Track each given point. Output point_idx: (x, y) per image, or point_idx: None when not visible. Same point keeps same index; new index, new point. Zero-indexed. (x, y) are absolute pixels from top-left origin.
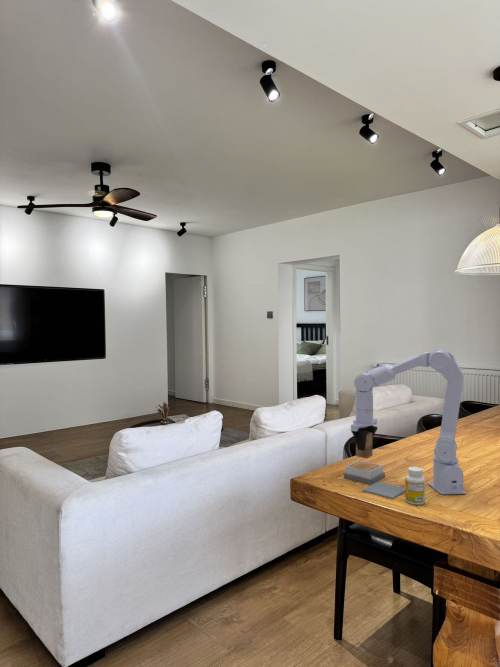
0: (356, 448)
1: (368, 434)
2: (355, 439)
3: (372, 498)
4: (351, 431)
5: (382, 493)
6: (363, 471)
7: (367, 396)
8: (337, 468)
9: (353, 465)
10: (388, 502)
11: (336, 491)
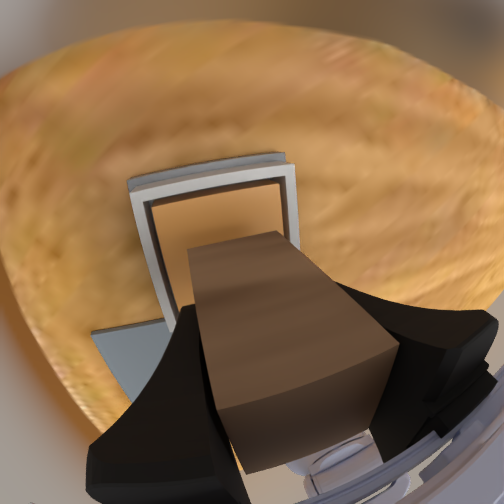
0: (192, 283)
1: (286, 458)
2: (156, 371)
3: (85, 375)
4: (89, 451)
5: (127, 382)
6: (159, 298)
7: None
8: (228, 58)
9: (177, 212)
10: (109, 405)
11: (14, 279)
